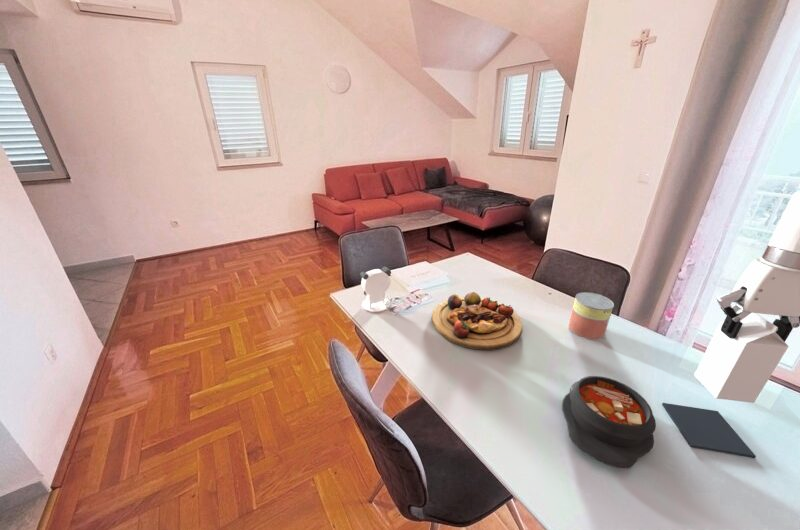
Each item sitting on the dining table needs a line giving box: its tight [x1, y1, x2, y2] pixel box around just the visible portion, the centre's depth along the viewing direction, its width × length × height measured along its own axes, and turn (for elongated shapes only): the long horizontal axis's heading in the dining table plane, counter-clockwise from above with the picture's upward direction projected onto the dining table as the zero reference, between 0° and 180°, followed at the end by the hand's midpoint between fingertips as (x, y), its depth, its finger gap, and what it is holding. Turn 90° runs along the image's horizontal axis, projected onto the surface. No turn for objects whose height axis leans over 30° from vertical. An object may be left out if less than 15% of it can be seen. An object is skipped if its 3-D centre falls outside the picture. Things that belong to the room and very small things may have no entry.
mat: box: [662, 402, 757, 459], centre depth 74 cm, size 12×12×1 cm
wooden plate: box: [431, 291, 523, 350], centre depth 112 cm, size 32×32×8 cm
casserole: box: [561, 375, 657, 470], centre depth 73 cm, size 25×19×8 cm
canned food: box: [567, 291, 615, 341], centre depth 107 cm, size 11×11×12 cm
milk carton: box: [694, 313, 789, 404], centre depth 66 cm, size 7×7×19 cm
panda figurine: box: [359, 266, 392, 313], centre depth 123 cm, size 12×11×15 cm
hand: (750, 336), depth 64 cm, fingers closed on milk carton, 7 cm apart
